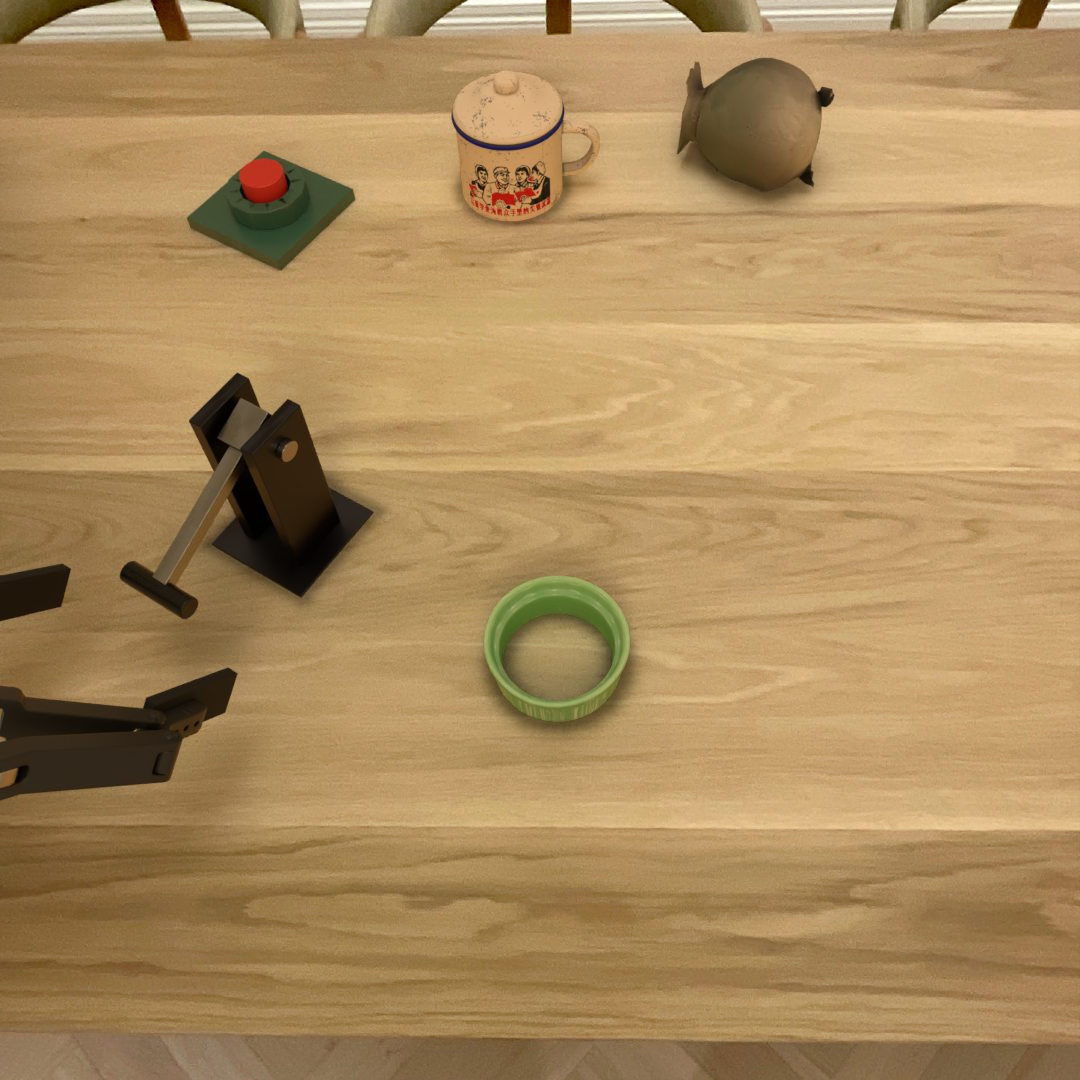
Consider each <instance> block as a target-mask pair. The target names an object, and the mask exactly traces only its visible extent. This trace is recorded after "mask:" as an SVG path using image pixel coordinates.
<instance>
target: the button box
mask: <svg viewBox="0 0 1080 1080" xmlns="http://www.w3.org/2000/svg"><path fill="white" fill-rule="evenodd" d="M257 159H272V160H275V161H277V162H278V163H280V164H281V166H282V168H283V171H284V174H285V178H286V181H287V185H288V189H287V192H286V193H285V194H284V195H283V196H282V197H281V198H280V199H277V200H274V201H271V202H269V203H253V202H251V201H249V200H248V199H247V198H246V196H245V194H244V191H243V188H242V185H241V182H240V178H239V174H240V171H241V169H242V168H243V167H241V168H240V169H239V170H237V172H235V173H234V174H233V175H232V176H230V178H228V180H227V182H226V183H225V184H223V185H222V186H221V187H220V188H219V189H218V190H217V191H215V192H214V193H213V194H212V195H211V196H210V197H209V198H207V199H206V200H205V201H204V202H203V203H201V205H200V206H198V207H197V208H196V209H194V211H192V212H191V213H190V214H189V215H187V217H186V220H187V222H188V225H189V227H190V229H192V230H193V231H196V232H198V233H200V234H202V235H204V236H206V237H208V238H210V239H213V240H215V241H217V242H219V243H221V244H222V245H225V246H227V247H229V248H232V249H234V250H236V251H238V252H240V253H242V254H244V255H246V256H249V257H251V258H253V259H255V260H257V261H259V262H261V263H263V264H266V265H267V266H270V267H272V268H273V269H276V270H278V271H280V272H281V271H283V270H284V269H285V268H286V267H287V266H288V265H289V264H290V263H291V262H292V261H293V260H295V258H296V257H297V256H298V255H299V254H300V253H301V252H302V251H304V249H306V248H307V247H308V246H309V245H310V244H311V243H312V242H313V241H314V240H315V239H317V237H318V236H319V235H320V234H321V233H322V232H323V231H324V230H326V228H328V227H329V225H331V224H332V223H333V222H334V221H335V220H336V219H337V218H338V217H340V215H342V213H343V212H345V211H346V209H347V208H348V207H350V206H351V204H353V203H354V202H355V200H356V197H355V191H354V188H352V187H349V186H347V185H345V184H342V183H341V182H337V181H335V180H333V179H331V178H328V177H326V176H324V175H322V174H319V173H318V172H317V173H316V172H314V171H312V170H310V169H308V168H306V167H303V166H301V165H298V164H296V163H293V162H292V161H289V160H286V159H284V158H282V157H280V156H277V155H275V154H274V153H273V154H272V153H271V152H268V151H266V150H263V151H261V152H260V153H259V154H258V155H257V156H255V157H254V158H253V159H252V160H251V161H254V160H257Z"/></svg>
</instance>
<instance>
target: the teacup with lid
mask: <svg viewBox="0 0 1080 1080" xmlns="http://www.w3.org/2000/svg"><path fill="white" fill-rule="evenodd" d="M450 118H451V122H452V125H453V128H454V129H455V133H456V142H457V143H456V144H457V151H458V152H457V153H458V160H459V161H458V162H459V169H460V178H461V187H462V194H463V198H464V200H465V202H466V204H467V205H468V206H469V207H470V208H471V209H472V210H473V211H474V212H476V213H478V214H479V215H480V216H483V217H486V218H488V219H491V220H496V221H502V222H518V221H520V222H521V221H525V220H529V219H532V218H533V219H534V218H536V217H538V216H540V215H542V214H545V213H546V212H547V211H549V210H550V209H551V208H552V207H554V205H556V203H557V202H558V201H559V199H560V197H561V195H562V193H563V184H564V183H563V182H564V181H563V177H566V176H567V177H568V176H575V175H579V174H581V173H583V172H585V171H587V170H588V169H589V168H590V167H591V166H592V165H593V164H594V163H595V161H596V160H597V158H598V156H599V153H600V149H601V148H600V147H601V138H600V134H599V132H598V131H599V130H598V129H597V128H596V127H595V126H594V125H593V124H591V123H590V122H588V121H586V120H582V119H576V118H575V119H574V118H573V119H564V118H565V105H564V102H563V100H562V97H561V95H560V94H559V92H558V90H557V89H556V88H555V87H554V86H553V84H551V83H549V82H548V81H547V80H545V79H544V78H541V77H540V76H537V75H534V74H531V73H527V72H520V71H512V70H507V69H505V70H504V69H503V70H501V71H498V72H495V73H489V74H486V75H483V76H481V77H478V78H476V79H474V80H472V81H471V82H469V83H468V84H466V86H464V87H462V89H461V90H460V92H459V93H458V94H457V96H455V99H454V102H453V104H452V109H451V117H450ZM564 134H580V135H583V136H585V137H587V138H588V139H589V140H590V141H591V143H590V146H589V149H588V150H587V152H586V154H584V155H583V156H582V157H581V158H578V159H576V160H574V161H568V162H567V161H566V162H563V135H564Z"/></svg>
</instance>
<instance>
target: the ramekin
mask: <svg viewBox="0 0 1080 1080" xmlns="http://www.w3.org/2000/svg"><path fill="white" fill-rule="evenodd" d="M489 614H490V615H489V617H488V618H487V621H486V624H485V627H484V632H483V642H482V643H483V652H484V653H483V654H484V658H485V661H486V664H487V666H488V669H489V671H490V673H491V674H492V677H493V678H494V679H495V680H496V683H497V687H498V688H499V690H500V691H501V693H502V696H503V697H505V698H506V700H507V701H508V702H509V703H510V704H511V705H512V706H513V707H514V708H516V709H517V710H518V711H519V712H521V713H523V714H525V715H527V716H529V717H532V718H533V719H537V720H542V721H545V722H556V723H558V722H564V723H565V722H570V721H575V720H577V719H580V718H583V717H585V716H589V715H590V714H592V713H593V712H595V711H596V710H598V709H599V708H600V707H602V705H604V704H605V703H606V702H607V701H608V699H610V697H611V696H612V694H613V693H614V692H615V690H616V689H617V685H618V683H619V682H620V678H621V674H622V673H623V672H624V670H625V667H626V664H627V662H628V659H629V654H630V650H631V632H630V628H629V627H630V626H629V624H628V620H627V618H626V615H625V614H624V612H623V611H622V608H621V607H620V606H619V604H618V602H616V600H615V599H614V598H613V597H612V596H611V595H609V593H607V592H606V591H605V590H604V589H602V588H601V587H600V586H598V585H596V584H594V583H592V582H590V581H587V580H585V579H582V578H580V577H575V576H570V575H561V574H560V575H557V574H554V575H545V576H540V577H536V578H533V579H530V580H526V581H524V582H523V583H521V584H519V585H517V586H515V587H514V588H511V590H510V591H508V592H507V593H505V595H503V596H502V597H501V598H500V600H499V601H498V602H497V603H496V605H495V606H494V607H493V609H492V610H491V612H490V613H489ZM547 615H569V616H573V617H576V618H579V619H581V620H584V621H585V622H587V623H588V624H590V625H592V626H593V627H594V628H595V629H596V630H597V631H598V632H599V633H601V635H602V636H603V638H604V639H605V641H606V643H607V645H608V647H609V650H610V654H611V666H610V668H609V670H608V672H607V673H606V675H605V676H604V677H603V679H602V680H600V682H599V683H598V684H597V685H596V686H595V687H593V688H592V689H590V690H589V691H586V692H585V693H583V694H581V695H578V696H576V697H572V698H567V699H562V700H550V699H544V698H539V697H536V696H534V695H531V694H529V693H527V692H525V691H524V690H522V689H521V688H520V687H518V686H517V685H516V684H515V683H514V682H513V681H512V680H511V679H510V677H509V675H508V673H506V671H505V669H504V654H505V651H506V648H507V646H508V643H509V641H510V640H511V639H512V637H513V636H514V634H515V633H516V632H517V631H518V630H519V629H520V628H521V627H523V626H524V625H525V624H527V623H528V622H530V621H533V620H534V619H536V618H539V617H543V616H547Z"/></svg>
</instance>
